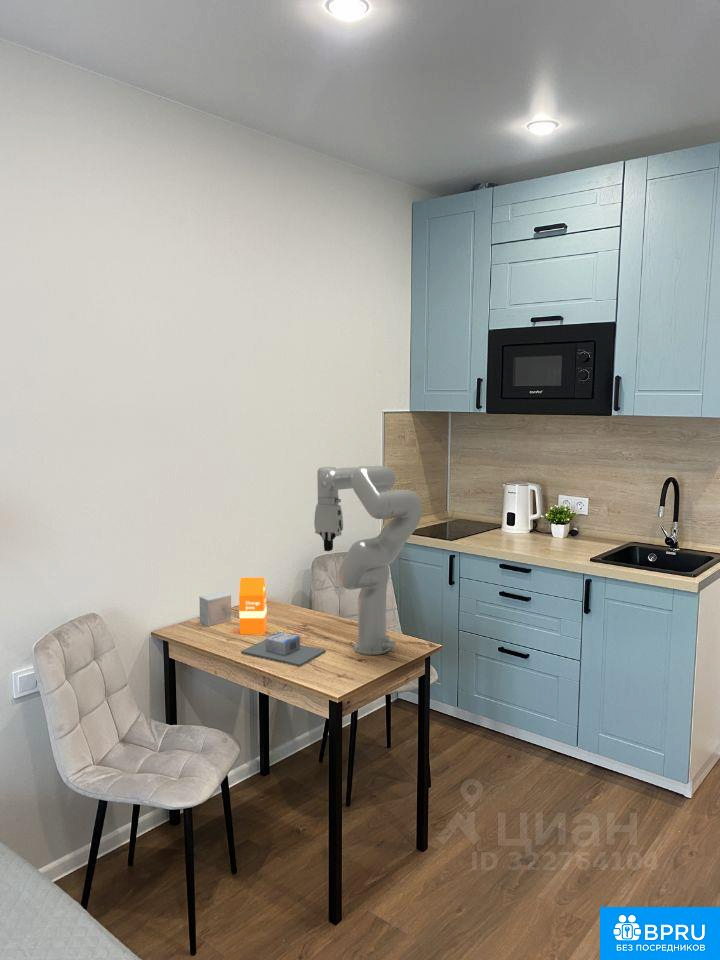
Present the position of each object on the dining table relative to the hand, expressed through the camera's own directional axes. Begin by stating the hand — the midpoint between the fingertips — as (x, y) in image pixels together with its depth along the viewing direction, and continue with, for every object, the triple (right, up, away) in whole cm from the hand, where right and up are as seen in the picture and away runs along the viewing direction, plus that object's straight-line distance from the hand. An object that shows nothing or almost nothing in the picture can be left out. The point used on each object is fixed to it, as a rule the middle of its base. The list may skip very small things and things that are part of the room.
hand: (328, 550), depth 264 cm
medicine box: (-11, -29, -25) cm, 40 cm away
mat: (-14, -32, -23) cm, 42 cm away
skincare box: (-43, -29, +10) cm, 53 cm away
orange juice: (-27, -30, 0) cm, 40 cm away
